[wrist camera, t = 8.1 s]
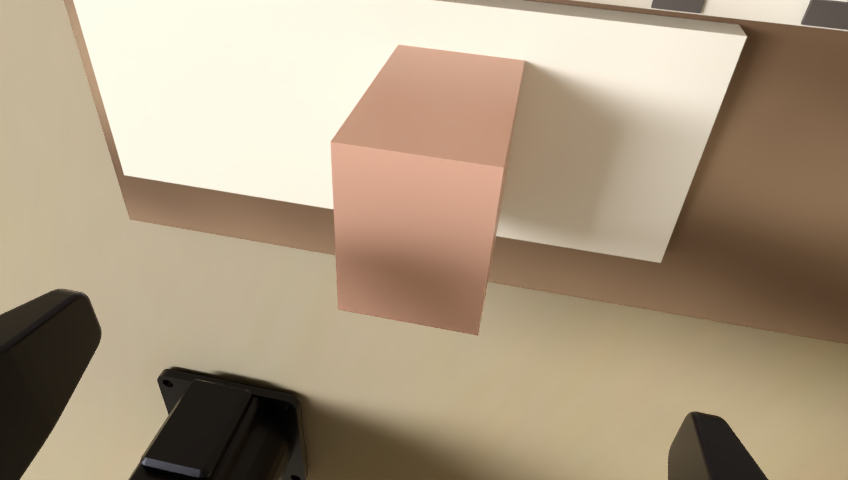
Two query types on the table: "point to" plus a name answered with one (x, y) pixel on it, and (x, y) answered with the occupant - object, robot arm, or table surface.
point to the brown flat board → (704, 204)
